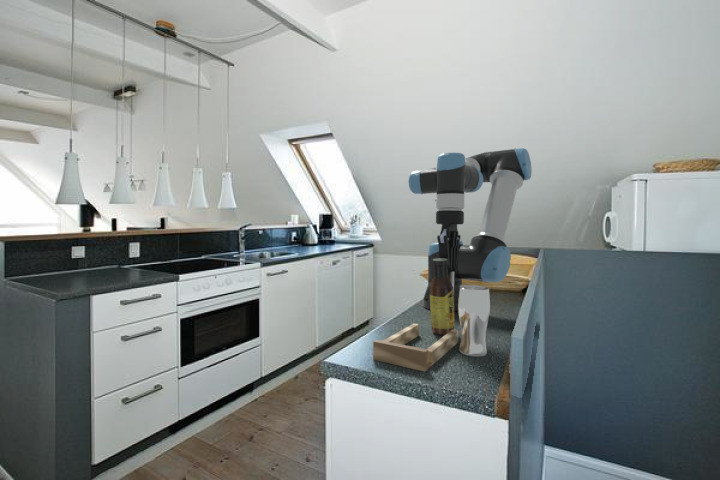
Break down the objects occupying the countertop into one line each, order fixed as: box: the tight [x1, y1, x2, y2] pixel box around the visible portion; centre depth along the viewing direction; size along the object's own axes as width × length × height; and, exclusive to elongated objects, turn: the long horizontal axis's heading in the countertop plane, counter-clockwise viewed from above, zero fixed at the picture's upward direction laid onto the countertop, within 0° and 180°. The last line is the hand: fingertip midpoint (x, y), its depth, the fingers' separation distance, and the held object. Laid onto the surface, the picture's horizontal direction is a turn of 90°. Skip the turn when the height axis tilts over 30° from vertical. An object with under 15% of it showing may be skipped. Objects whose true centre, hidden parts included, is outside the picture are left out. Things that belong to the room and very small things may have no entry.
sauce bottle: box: [429, 258, 456, 336], centre depth 99 cm, size 6×6×20 cm
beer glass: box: [457, 284, 491, 358], centre depth 85 cm, size 7×7×15 cm
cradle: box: [372, 323, 459, 372], centre depth 87 cm, size 22×12×4 cm, turn 148°
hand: (448, 294), depth 104 cm, fingers closed
